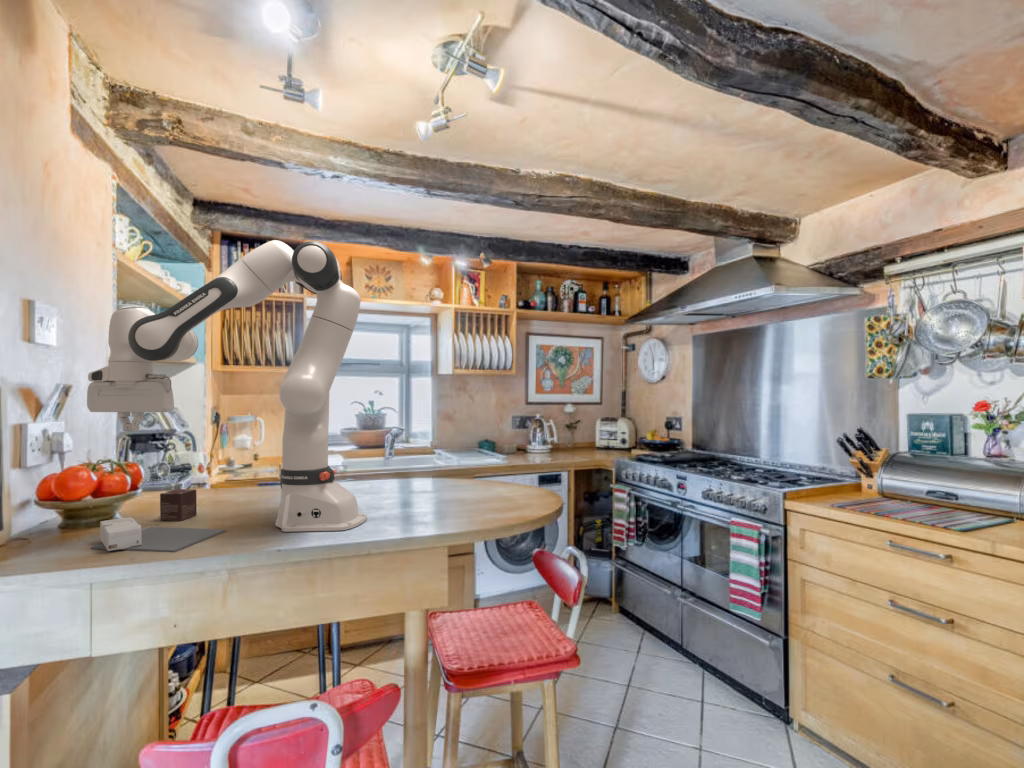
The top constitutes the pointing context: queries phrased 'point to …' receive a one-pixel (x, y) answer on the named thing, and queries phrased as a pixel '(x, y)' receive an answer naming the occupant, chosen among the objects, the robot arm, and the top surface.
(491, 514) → the top surface
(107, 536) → the skincare box
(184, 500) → the box
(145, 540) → the mat
